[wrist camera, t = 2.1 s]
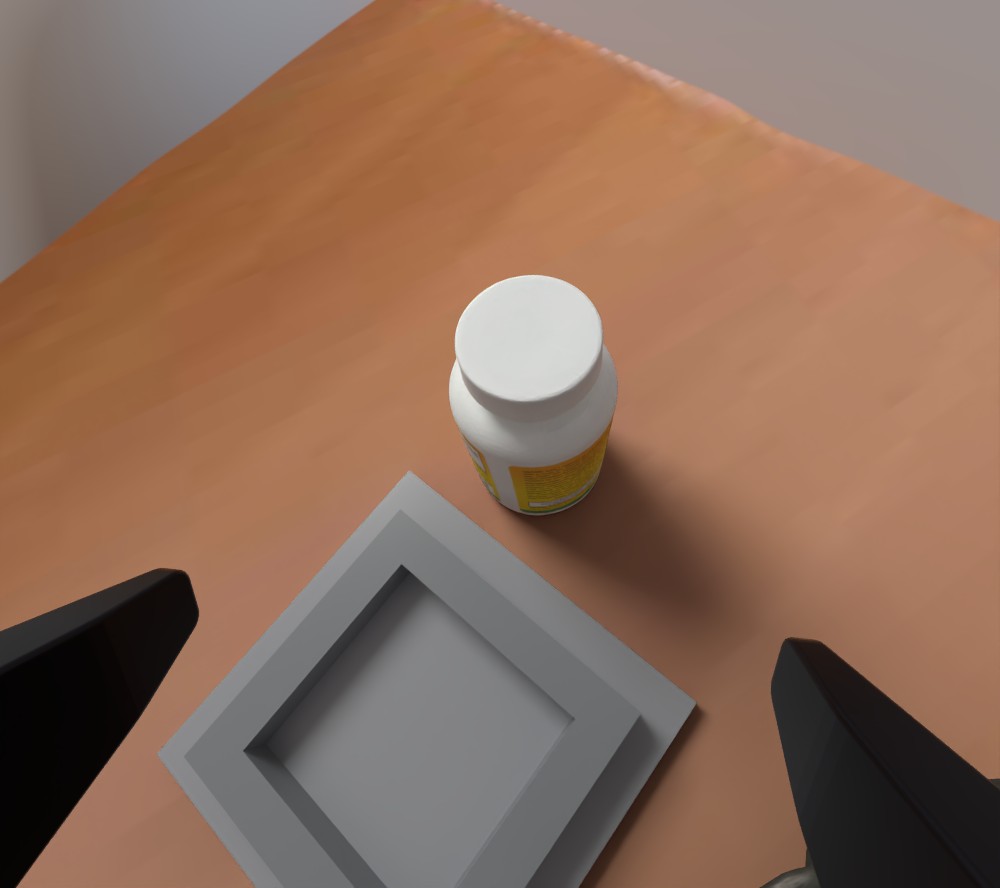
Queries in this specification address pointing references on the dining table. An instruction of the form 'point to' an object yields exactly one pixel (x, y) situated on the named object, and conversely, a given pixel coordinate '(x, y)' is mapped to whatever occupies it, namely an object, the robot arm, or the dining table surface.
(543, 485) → the supplement bottle
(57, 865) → the dining table surface
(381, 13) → the dining table surface
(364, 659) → the tray
